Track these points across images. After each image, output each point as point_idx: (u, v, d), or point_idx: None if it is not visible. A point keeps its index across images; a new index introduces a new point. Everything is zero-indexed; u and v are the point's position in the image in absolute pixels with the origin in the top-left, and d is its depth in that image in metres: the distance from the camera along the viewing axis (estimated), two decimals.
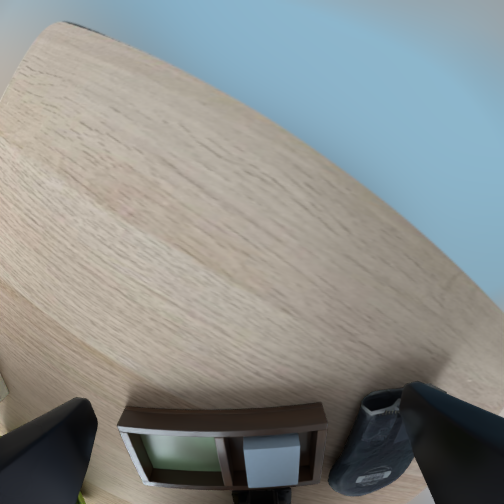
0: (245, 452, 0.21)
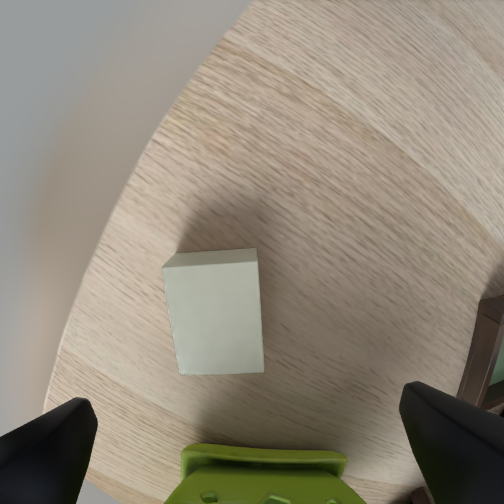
0: None
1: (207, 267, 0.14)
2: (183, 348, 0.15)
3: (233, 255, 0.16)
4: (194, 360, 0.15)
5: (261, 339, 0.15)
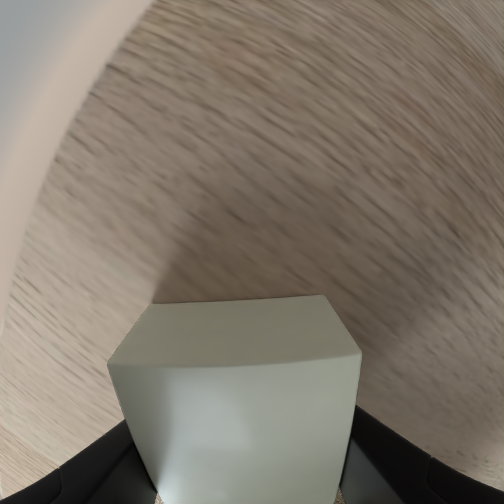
0: None
1: (226, 371, 0.05)
2: (177, 497, 0.06)
3: (286, 323, 0.06)
4: None
5: (337, 484, 0.06)
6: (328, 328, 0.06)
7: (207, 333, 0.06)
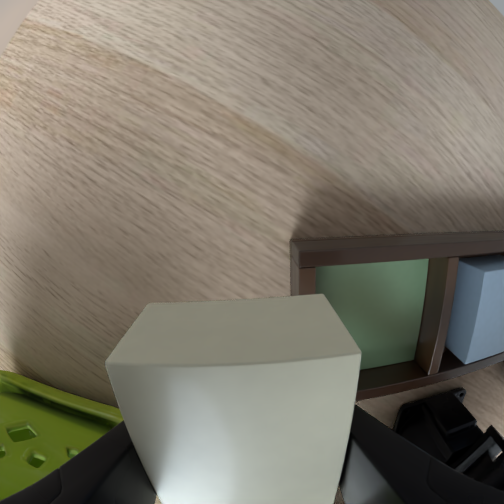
0: (485, 277, 0.14)
1: (225, 371, 0.05)
2: (175, 498, 0.06)
3: (285, 323, 0.06)
4: None
5: (336, 484, 0.06)
6: (327, 327, 0.06)
7: (205, 332, 0.06)
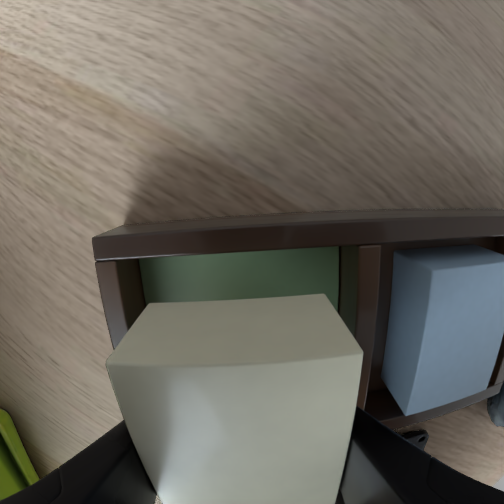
0: (434, 280, 0.09)
1: (226, 371, 0.05)
2: (176, 498, 0.06)
3: (286, 323, 0.06)
4: None
5: (337, 484, 0.06)
6: (329, 327, 0.06)
7: (206, 332, 0.06)
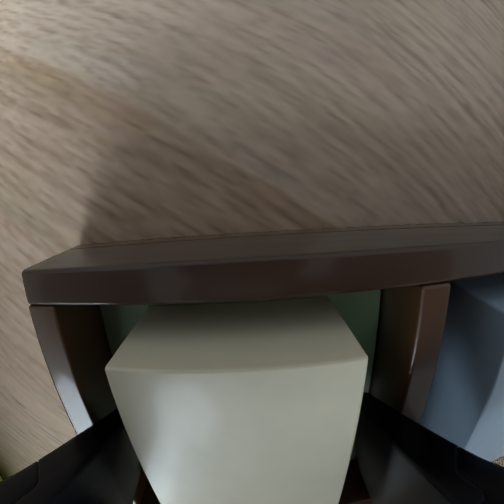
0: None
1: (228, 378, 0.05)
2: (177, 503, 0.06)
3: (289, 327, 0.06)
4: None
5: (340, 489, 0.06)
6: (333, 332, 0.06)
7: (208, 337, 0.06)
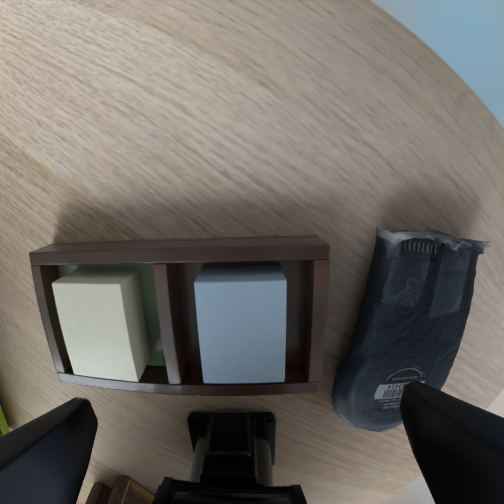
0: (197, 289, 0.15)
1: (82, 286, 0.15)
2: (73, 351, 0.16)
3: (110, 275, 0.16)
4: (82, 363, 0.16)
5: (131, 352, 0.16)
6: (120, 277, 0.16)
7: (85, 277, 0.16)
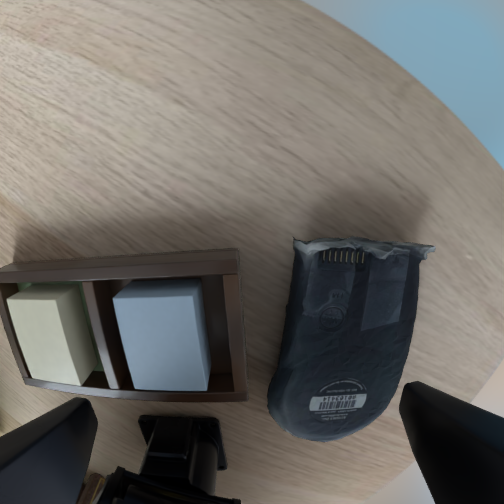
0: (115, 304, 0.16)
1: (28, 301, 0.15)
2: (28, 358, 0.16)
3: (52, 291, 0.17)
4: (37, 368, 0.16)
5: (71, 359, 0.16)
6: (59, 293, 0.16)
7: (33, 293, 0.17)
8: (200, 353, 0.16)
